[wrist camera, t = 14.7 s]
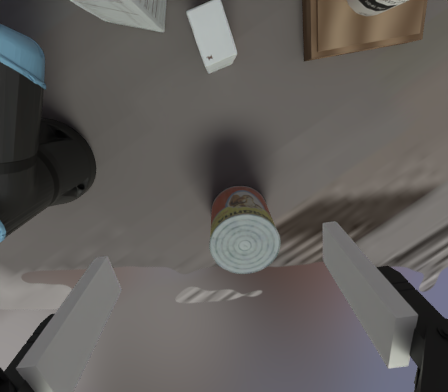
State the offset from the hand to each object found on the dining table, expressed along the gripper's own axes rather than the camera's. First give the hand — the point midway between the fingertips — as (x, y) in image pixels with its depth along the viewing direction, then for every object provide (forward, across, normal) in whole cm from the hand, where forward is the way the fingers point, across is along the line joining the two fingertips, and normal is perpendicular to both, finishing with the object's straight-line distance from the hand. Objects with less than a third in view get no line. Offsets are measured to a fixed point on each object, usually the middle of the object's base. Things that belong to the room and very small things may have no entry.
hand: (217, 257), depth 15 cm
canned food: (+33, +2, -14) cm, 36 cm away
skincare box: (+33, +2, +15) cm, 36 cm away
